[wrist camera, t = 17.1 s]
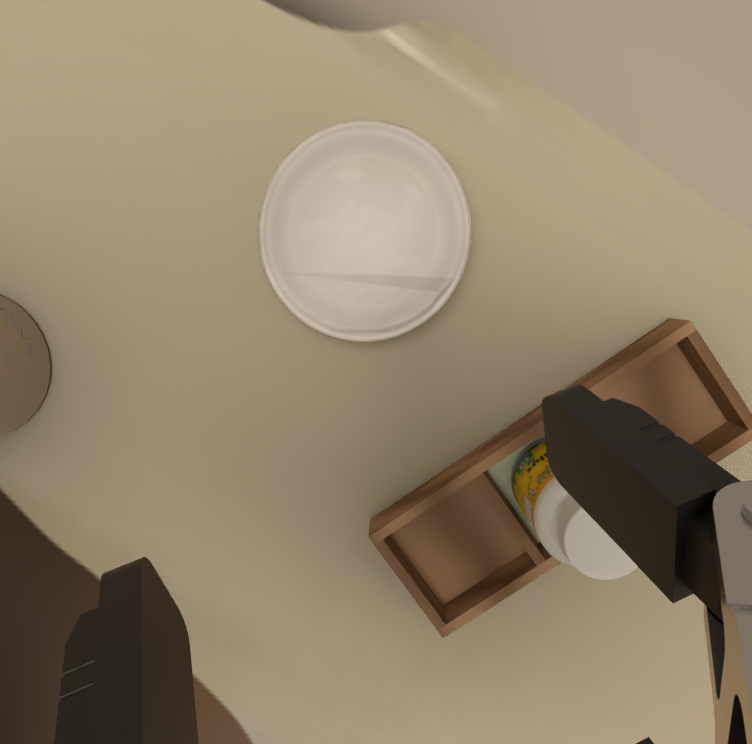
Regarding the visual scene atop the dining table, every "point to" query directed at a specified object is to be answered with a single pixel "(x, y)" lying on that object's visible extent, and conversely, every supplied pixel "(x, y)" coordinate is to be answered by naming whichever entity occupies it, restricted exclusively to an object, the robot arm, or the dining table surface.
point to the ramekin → (364, 231)
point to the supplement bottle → (564, 520)
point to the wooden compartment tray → (495, 465)
